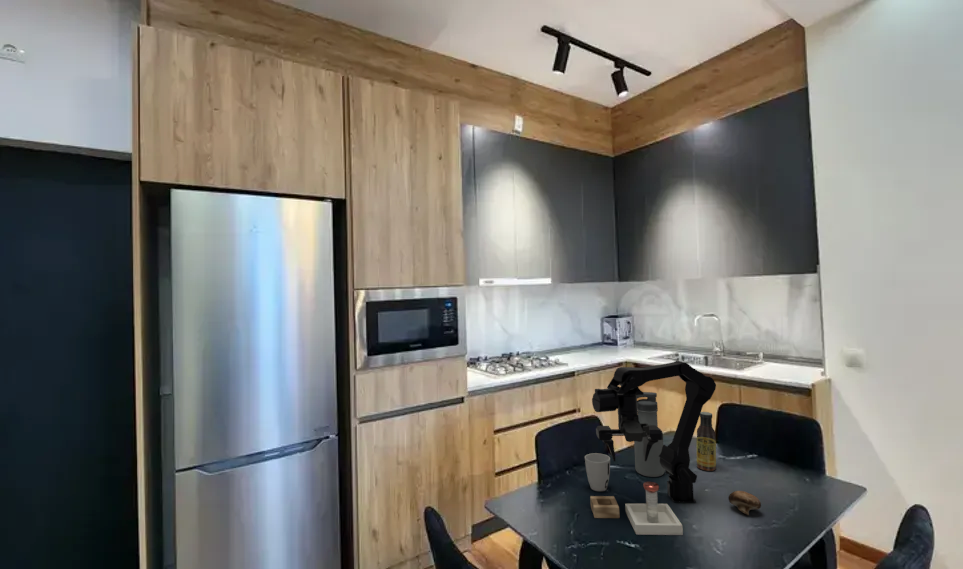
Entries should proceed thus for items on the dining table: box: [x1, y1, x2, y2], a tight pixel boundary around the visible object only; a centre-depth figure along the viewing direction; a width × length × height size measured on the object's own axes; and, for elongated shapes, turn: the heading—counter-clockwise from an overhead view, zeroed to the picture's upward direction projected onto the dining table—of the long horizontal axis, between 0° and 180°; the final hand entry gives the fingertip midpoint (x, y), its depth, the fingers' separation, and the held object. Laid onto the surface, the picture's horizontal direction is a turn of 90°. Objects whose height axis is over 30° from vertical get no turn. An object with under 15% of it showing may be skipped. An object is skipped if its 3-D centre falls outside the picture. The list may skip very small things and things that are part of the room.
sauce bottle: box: [696, 411, 717, 472], centre depth 158 cm, size 7×6×20 cm
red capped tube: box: [643, 481, 660, 523], centre depth 123 cm, size 4×4×10 cm
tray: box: [624, 503, 684, 536], centre depth 123 cm, size 12×12×2 cm
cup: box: [584, 452, 611, 492], centre depth 146 cm, size 8×8×10 cm
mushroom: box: [728, 490, 762, 516], centre depth 127 cm, size 8×8×6 cm
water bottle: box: [633, 391, 666, 478], centre depth 157 cm, size 10×10×28 cm
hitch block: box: [589, 495, 620, 519], centre depth 130 cm, size 7×7×3 cm
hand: (629, 461), depth 134 cm, fingers open, 9 cm apart
